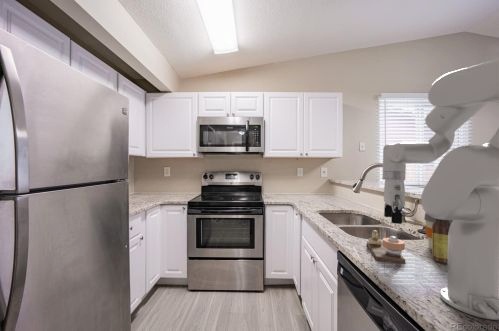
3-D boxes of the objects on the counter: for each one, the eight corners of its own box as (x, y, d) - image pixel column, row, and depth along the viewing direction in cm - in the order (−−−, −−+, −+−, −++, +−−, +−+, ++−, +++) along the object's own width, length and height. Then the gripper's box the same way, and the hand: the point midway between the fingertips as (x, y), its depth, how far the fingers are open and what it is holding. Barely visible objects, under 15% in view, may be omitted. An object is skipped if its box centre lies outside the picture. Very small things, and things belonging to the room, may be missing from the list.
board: (405, 263, 84) (405, 259, 84) (376, 260, 87) (376, 256, 87) (390, 246, 101) (390, 243, 101) (366, 244, 104) (367, 241, 104)
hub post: (382, 247, 97) (383, 232, 97) (369, 245, 98) (369, 231, 98) (379, 243, 102) (380, 229, 102) (367, 242, 103) (367, 228, 103)
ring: (407, 251, 84) (407, 244, 84) (385, 249, 86) (385, 242, 86) (400, 245, 91) (400, 238, 91) (380, 243, 93) (380, 237, 93)
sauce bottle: (457, 265, 83) (458, 210, 83) (438, 263, 84) (438, 209, 84) (446, 258, 90) (446, 207, 89) (428, 256, 91) (428, 206, 91)
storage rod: (402, 258, 85) (403, 239, 85) (387, 256, 87) (387, 238, 87) (398, 253, 90) (398, 235, 90) (384, 251, 91) (384, 234, 91)
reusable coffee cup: (446, 245, 104) (447, 212, 104) (470, 256, 92) (471, 218, 92) (417, 244, 105) (417, 211, 105) (437, 254, 93) (437, 217, 93)
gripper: (413, 178, 79) (412, 227, 79) (397, 175, 95) (396, 215, 96) (389, 177, 81) (387, 225, 82) (377, 174, 98) (376, 214, 98)
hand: (392, 220), depth 89 cm, fingers open, 9 cm apart
